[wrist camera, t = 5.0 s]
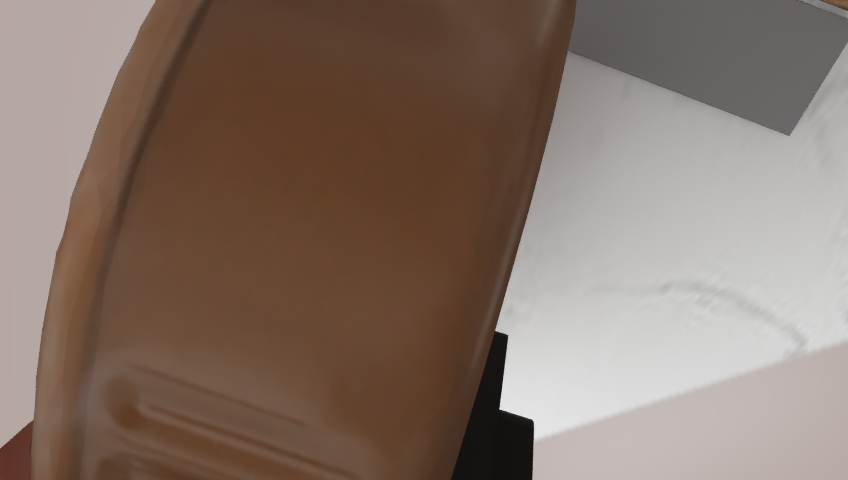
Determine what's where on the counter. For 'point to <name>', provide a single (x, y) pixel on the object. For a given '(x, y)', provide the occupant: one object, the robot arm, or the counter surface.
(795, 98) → the flat grey bar
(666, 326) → the counter surface
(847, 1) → the cabinet carcass
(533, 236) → the counter surface
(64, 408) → the tin
